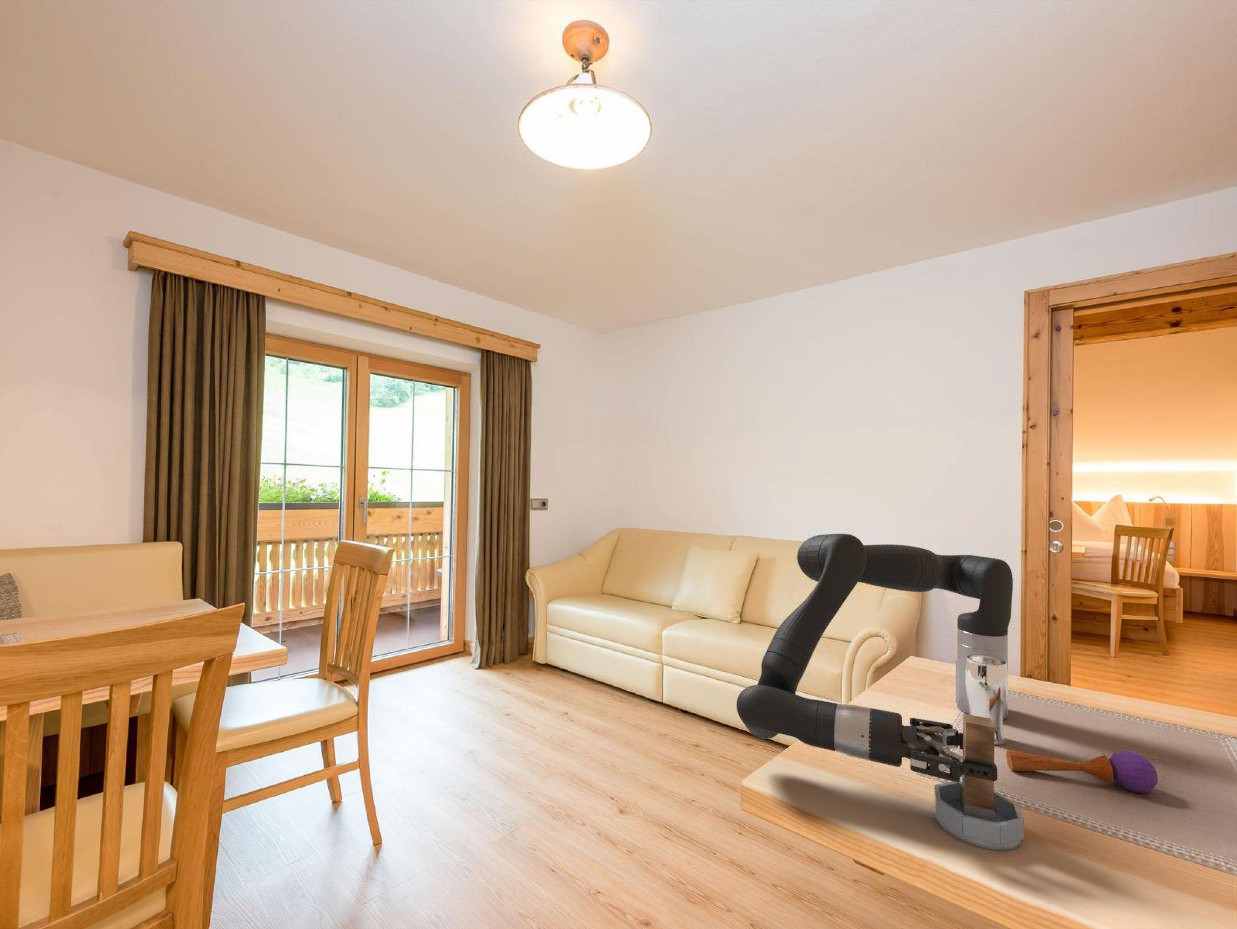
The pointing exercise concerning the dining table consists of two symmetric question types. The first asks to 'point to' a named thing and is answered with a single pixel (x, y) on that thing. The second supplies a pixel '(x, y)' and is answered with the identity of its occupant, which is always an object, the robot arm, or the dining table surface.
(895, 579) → the robot arm
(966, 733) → the wooden block
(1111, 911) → the dining table surface
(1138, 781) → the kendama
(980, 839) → the blue-grey octagonal holder
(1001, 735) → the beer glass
